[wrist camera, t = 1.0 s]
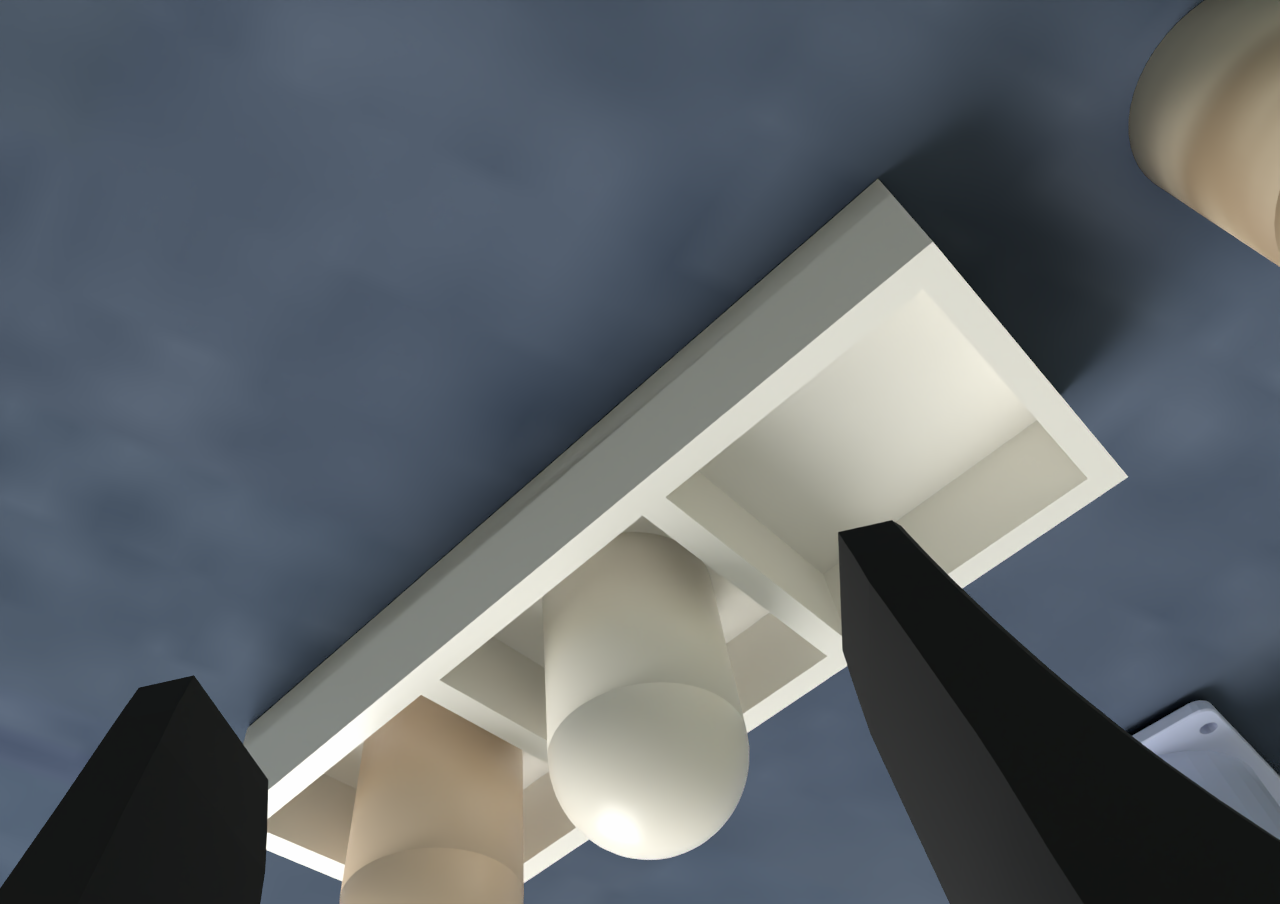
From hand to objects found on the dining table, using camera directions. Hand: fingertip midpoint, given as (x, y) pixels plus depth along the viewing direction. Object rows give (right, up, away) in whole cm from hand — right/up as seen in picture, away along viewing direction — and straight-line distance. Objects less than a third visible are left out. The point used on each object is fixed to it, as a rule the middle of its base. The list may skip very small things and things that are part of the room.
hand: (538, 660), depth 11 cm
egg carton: (+1, -1, +13) cm, 13 cm away
